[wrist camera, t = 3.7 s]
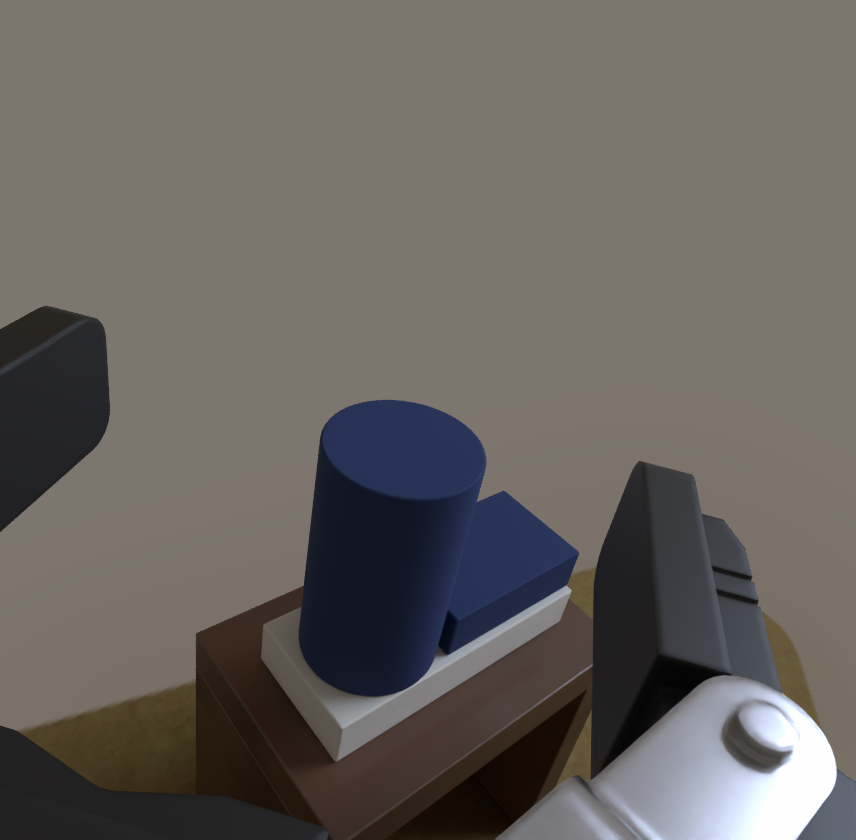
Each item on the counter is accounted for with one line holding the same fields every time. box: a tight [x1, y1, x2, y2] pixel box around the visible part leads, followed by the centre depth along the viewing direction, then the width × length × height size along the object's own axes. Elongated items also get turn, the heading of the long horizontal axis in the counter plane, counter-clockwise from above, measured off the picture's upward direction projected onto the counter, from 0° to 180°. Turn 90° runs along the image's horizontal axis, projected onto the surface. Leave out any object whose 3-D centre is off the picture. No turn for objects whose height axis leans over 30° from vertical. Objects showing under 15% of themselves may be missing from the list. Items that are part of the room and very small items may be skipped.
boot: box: [261, 400, 579, 762], centre depth 28 cm, size 12×5×11 cm, turn 130°
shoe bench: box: [196, 586, 593, 840], centre depth 35 cm, size 10×15×14 cm, turn 130°
